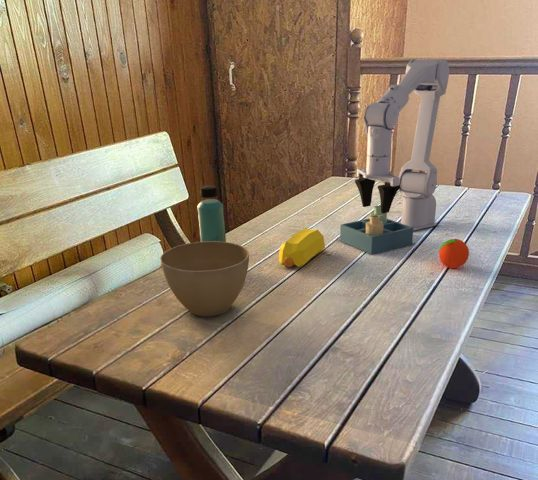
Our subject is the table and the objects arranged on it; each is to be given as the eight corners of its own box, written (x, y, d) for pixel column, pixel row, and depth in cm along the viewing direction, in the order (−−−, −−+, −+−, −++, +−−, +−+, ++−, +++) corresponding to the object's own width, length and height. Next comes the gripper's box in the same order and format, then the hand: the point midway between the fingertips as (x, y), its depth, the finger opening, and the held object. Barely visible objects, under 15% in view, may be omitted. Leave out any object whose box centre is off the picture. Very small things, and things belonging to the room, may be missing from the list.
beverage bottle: (224, 271, 144) (218, 190, 134) (199, 270, 145) (191, 189, 136) (231, 262, 149) (225, 183, 140) (206, 261, 151) (199, 183, 141)
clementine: (445, 275, 137) (449, 246, 133) (427, 265, 142) (430, 237, 139) (473, 269, 139) (477, 240, 136) (454, 260, 145) (458, 232, 141)
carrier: (379, 231, 168) (380, 216, 165) (412, 244, 157) (413, 227, 155) (339, 240, 162) (340, 224, 160) (371, 254, 151) (372, 237, 149)
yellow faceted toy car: (273, 268, 144) (301, 272, 141) (272, 242, 141) (301, 246, 138) (303, 246, 158) (329, 249, 155) (302, 222, 155) (329, 225, 152)
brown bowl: (169, 332, 115) (161, 274, 109) (165, 297, 131) (159, 245, 125) (258, 321, 118) (255, 265, 112) (244, 288, 134) (241, 237, 128)
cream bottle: (374, 242, 158) (376, 212, 154) (385, 246, 154) (387, 216, 150) (361, 245, 156) (362, 215, 152) (372, 249, 152) (373, 219, 149)
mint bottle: (378, 231, 166) (380, 203, 162) (388, 235, 162) (390, 207, 158) (365, 234, 164) (367, 206, 160) (376, 238, 160) (377, 210, 156)
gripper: (347, 152, 148) (346, 205, 154) (384, 161, 137) (381, 218, 143) (369, 149, 151) (367, 201, 157) (407, 157, 140) (403, 213, 146)
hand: (375, 209), depth 150 cm, fingers open, 7 cm apart
